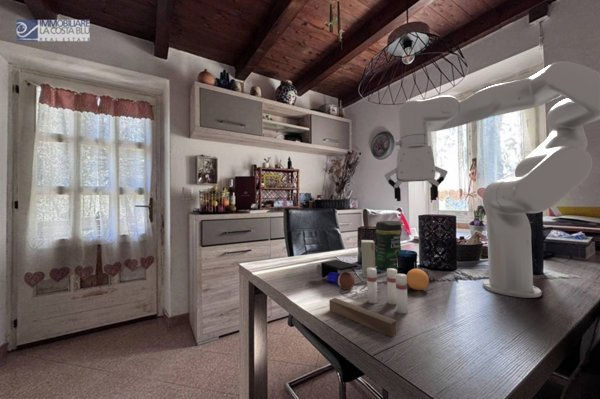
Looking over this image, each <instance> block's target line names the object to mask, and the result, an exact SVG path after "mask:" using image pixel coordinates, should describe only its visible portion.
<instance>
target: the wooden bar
mask: <svg viewBox="0 0 600 399" xmlns="http://www.w3.org/2000/svg"><path fill="white" fill-rule="evenodd" d="M328 305H329V311H330V312H333V313H335V314H337V315H340V316H341V317H344V318H346V319H349V320H352V321H354V322H356V323H358V324H360V325H363V326H365V327H367V328H369V329H372V330H375V331H376V332H379V333H382V334H383V335H387V336H389V337H391V338H392V337H393V336H395V335H396V334H397V320H396V319H393V318H391V317H388V316H386V315H384V314H380V313H377V312H375V311H372V310H369V309H367V308H363V307H361V306H359V305H355V304H353V303H350V302H348V301H344V300H342V299H339V298H336V297H333V298H331V299H329V304H328Z"/></svg>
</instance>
